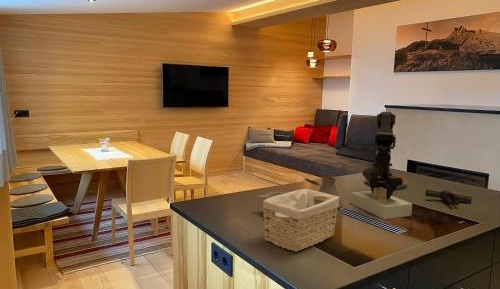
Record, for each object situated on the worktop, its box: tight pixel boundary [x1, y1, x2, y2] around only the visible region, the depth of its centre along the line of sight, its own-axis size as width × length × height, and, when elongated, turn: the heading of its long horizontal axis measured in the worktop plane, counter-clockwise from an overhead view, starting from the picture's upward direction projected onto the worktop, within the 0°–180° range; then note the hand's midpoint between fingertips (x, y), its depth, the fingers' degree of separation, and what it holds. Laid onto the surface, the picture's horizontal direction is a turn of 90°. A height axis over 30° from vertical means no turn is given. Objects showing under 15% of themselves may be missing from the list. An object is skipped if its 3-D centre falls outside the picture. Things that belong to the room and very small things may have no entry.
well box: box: [350, 190, 413, 220], centre depth 158 cm, size 22×14×5 cm, turn 21°
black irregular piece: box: [425, 189, 473, 206], centre depth 167 cm, size 5×20×15 cm
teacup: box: [257, 191, 286, 207], centre depth 150 cm, size 14×11×8 cm
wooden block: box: [373, 187, 387, 203], centre depth 158 cm, size 4×4×8 cm
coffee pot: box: [301, 176, 342, 206], centre depth 156 cm, size 21×12×15 cm, turn 128°
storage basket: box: [262, 188, 340, 251], centre depth 124 cm, size 24×16×15 cm
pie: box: [364, 174, 408, 190], centre depth 200 cm, size 22×22×5 cm
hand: (380, 196), depth 157 cm, fingers open, 9 cm apart
